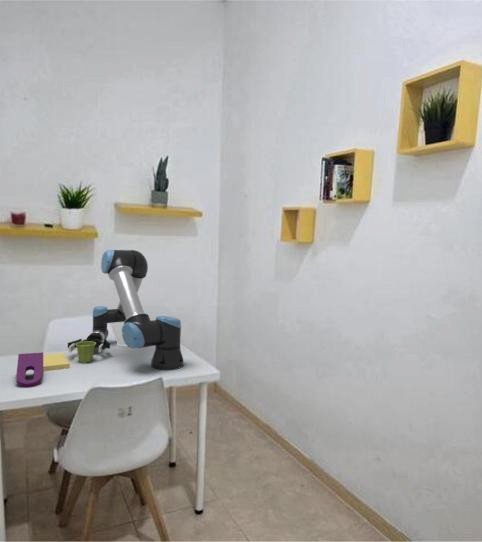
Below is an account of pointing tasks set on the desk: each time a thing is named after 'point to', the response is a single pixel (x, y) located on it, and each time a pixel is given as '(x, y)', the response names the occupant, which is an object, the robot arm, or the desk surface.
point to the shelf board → (55, 362)
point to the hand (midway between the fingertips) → (84, 349)
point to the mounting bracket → (29, 368)
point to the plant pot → (85, 351)
